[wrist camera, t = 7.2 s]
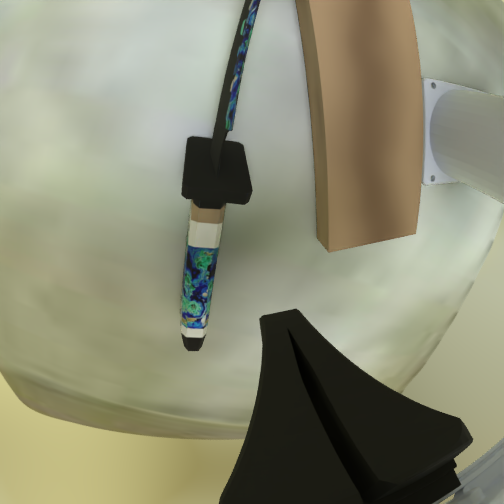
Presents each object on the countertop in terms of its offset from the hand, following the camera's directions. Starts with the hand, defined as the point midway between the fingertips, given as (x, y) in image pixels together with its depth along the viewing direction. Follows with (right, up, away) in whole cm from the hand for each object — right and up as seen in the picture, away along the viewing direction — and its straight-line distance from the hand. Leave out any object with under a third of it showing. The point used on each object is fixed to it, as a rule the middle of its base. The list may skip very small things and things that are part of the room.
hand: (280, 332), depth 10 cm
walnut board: (+6, +13, +4) cm, 15 cm away
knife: (-2, +11, +3) cm, 12 cm away
